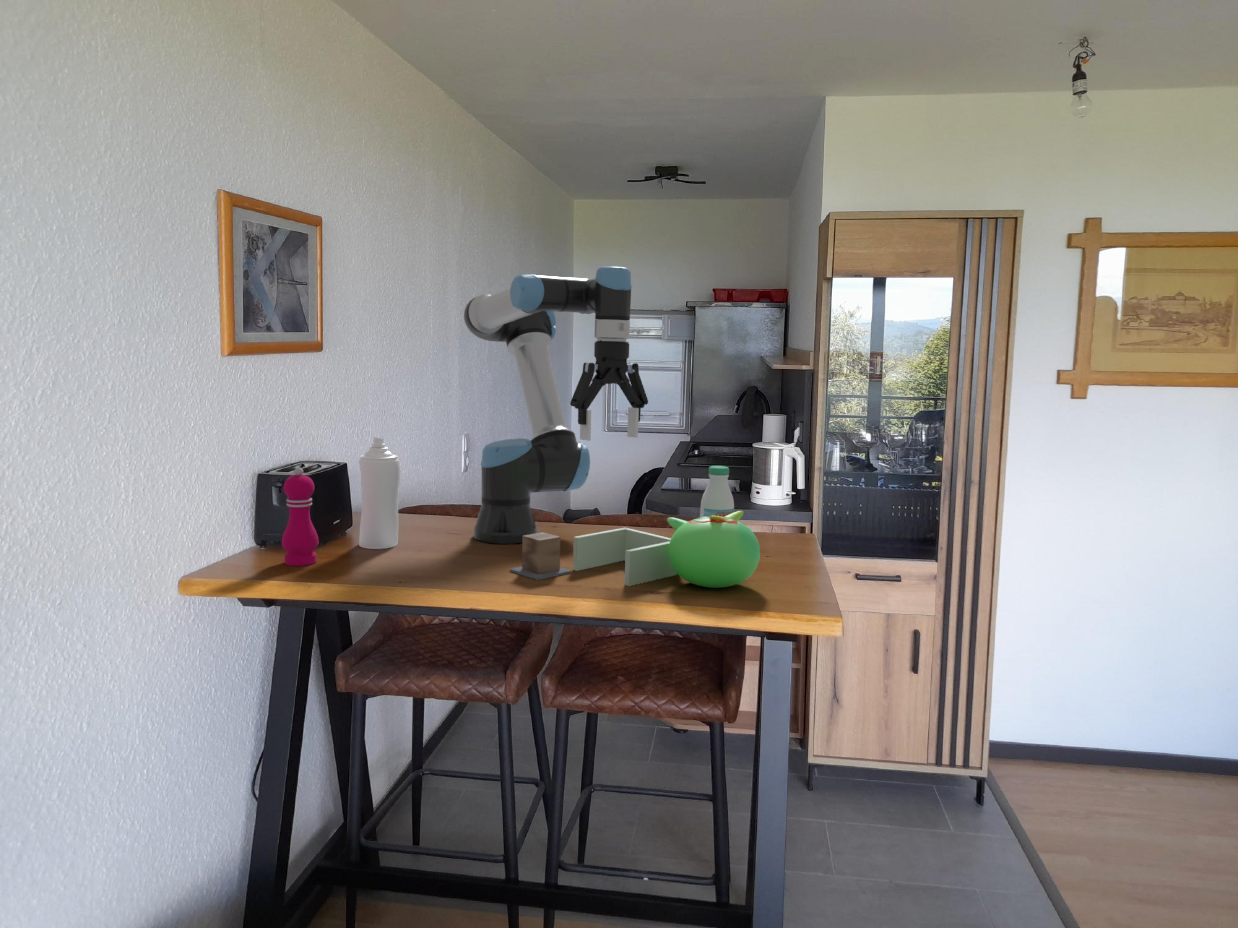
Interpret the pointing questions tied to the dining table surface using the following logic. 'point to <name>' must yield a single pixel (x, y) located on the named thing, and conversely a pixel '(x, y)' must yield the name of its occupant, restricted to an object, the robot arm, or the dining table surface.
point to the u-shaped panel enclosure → (625, 553)
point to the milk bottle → (717, 494)
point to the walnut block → (541, 553)
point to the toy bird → (713, 550)
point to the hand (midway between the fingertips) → (609, 438)
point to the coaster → (540, 576)
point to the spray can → (379, 497)
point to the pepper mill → (299, 521)
